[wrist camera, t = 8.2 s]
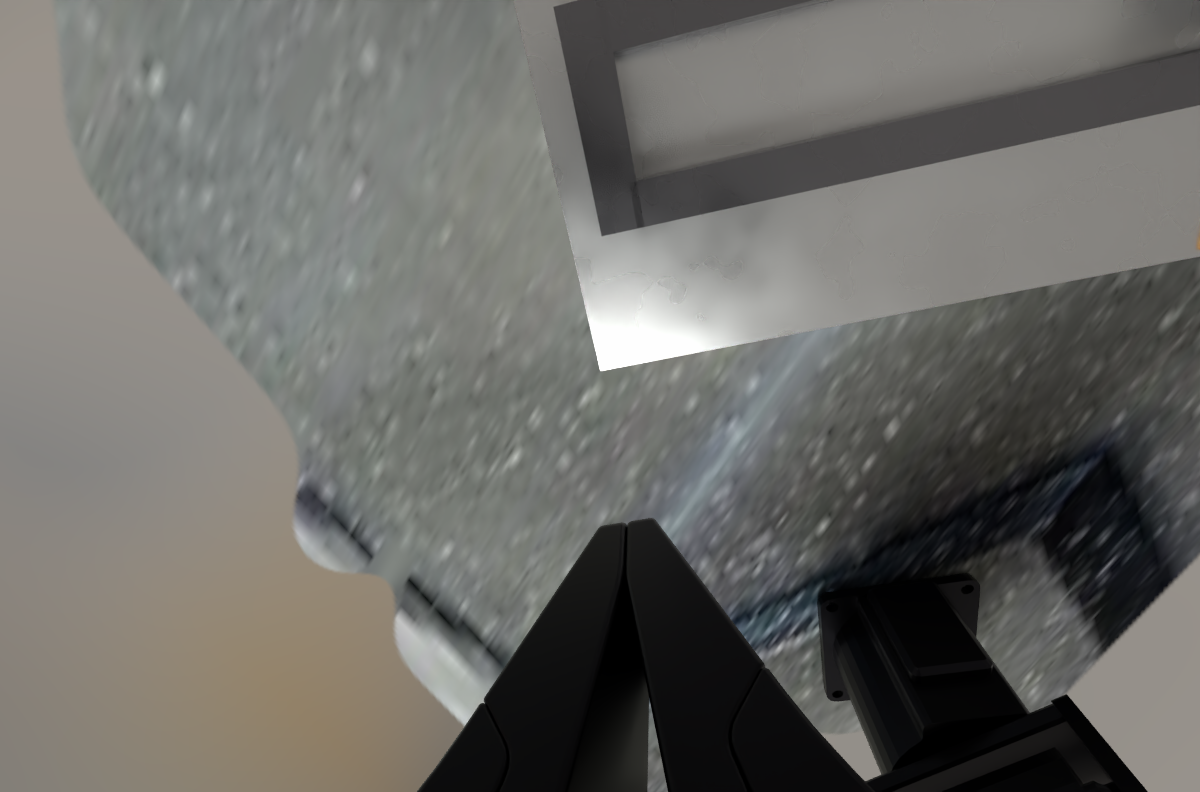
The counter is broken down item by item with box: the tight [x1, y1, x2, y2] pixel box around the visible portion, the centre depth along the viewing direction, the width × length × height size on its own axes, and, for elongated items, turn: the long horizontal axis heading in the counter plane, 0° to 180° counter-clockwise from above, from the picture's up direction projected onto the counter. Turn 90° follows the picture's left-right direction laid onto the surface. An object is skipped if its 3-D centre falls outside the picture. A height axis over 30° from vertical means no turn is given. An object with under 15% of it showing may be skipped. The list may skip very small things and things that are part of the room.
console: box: [514, 0, 1200, 371], centre depth 14 cm, size 14×24×3 cm, turn 102°
